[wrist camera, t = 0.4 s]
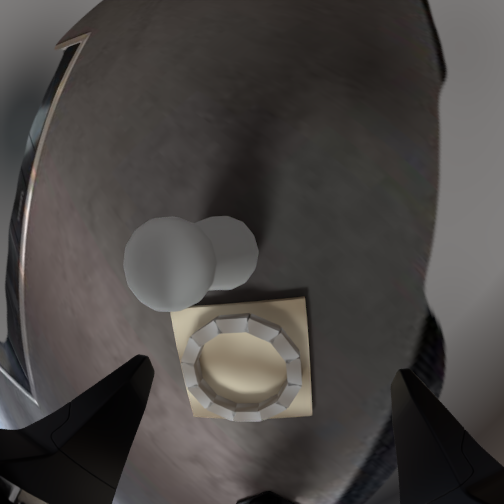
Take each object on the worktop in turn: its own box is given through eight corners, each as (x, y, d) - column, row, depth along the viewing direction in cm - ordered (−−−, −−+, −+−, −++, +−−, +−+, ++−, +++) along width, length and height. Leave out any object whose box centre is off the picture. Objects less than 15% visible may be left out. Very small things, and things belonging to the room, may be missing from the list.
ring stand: (311, 411, 23) (312, 424, 21) (196, 412, 25) (189, 424, 23) (304, 296, 23) (306, 302, 21) (173, 306, 25) (162, 313, 22)
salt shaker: (242, 206, 23) (184, 169, 10) (274, 265, 23) (251, 299, 10) (185, 238, 24) (87, 239, 11) (215, 296, 24) (139, 351, 11)
